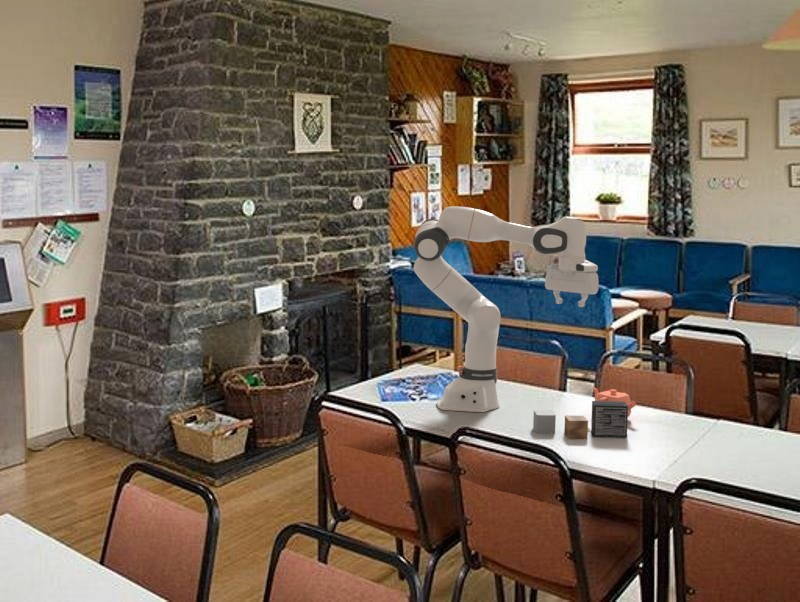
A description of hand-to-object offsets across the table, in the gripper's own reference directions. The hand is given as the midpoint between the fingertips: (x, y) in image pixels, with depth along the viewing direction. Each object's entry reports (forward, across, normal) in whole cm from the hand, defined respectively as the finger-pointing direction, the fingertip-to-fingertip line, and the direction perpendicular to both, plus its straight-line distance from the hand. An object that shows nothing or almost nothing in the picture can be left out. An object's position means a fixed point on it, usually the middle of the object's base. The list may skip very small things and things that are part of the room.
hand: (570, 305), depth 275 cm
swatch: (+39, +13, -9) cm, 42 cm away
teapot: (+39, +13, +9) cm, 42 cm away
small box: (+39, +23, -8) cm, 46 cm away
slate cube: (+39, +7, -20) cm, 44 cm away
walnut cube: (+39, +18, -18) cm, 46 cm away
